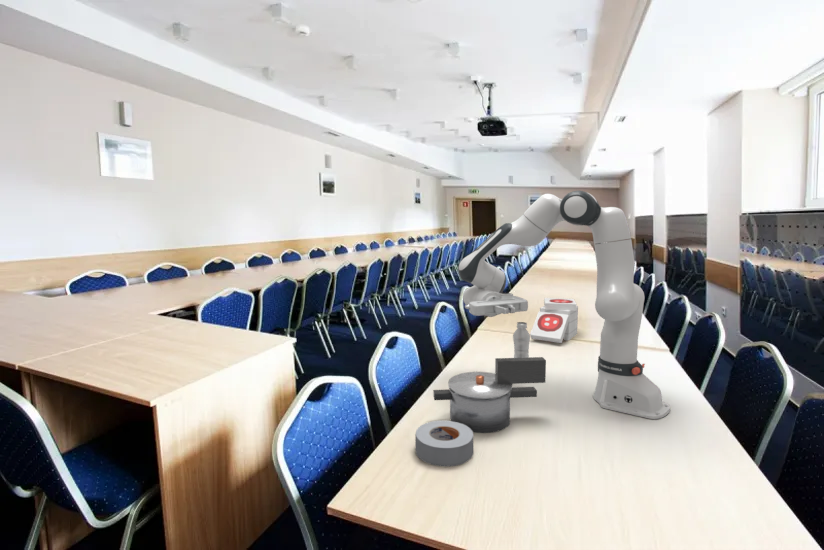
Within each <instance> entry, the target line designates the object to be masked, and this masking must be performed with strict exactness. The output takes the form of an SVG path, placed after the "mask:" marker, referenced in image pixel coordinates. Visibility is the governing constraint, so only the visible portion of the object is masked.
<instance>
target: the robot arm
mask: <svg viewBox="0 0 824 550" xmlns="http://www.w3.org/2000/svg"><path fill="white" fill-rule="evenodd" d="M563 221H565V222H567V223H569V224H571V225H573V226H580V227H582V226H586V227H589V229H590V230H591V233H592V234H591V235H592V238H593V246H594V247H593V248H594V254H595V261H596V298H595V301H594V308H595V311H596V313H597V315H598V316H599V317H600V318H602V319H603V320H604V321H603V325H602V329H601V333H600V341H599V342H600V346H599V355H598V361H597V372H598V374H597V379H596V380H597V381H596V385H595V390H594V391H593V395H592V398H593V400H595V402H597V403H598V404H599V406H600V407H601V408H603V409H604V410H605V409H606V410H611V411H615V412H618V413H624V414H628V415H631V416H632V415H633V416H636V417H641V418H646V419H649V420H657V419H661V418H664V417H665V416H667V415H668V414H669V413H670V411H671V406H670V404H669V403H668V402H665V401H663V395H662V392H661V389H660V387H659V386H658V385H657V384H655V383H654V382H653V381H652V380H651V379H650V378H649V377H647V376H646V375H645V374H644V372H643V371H644V368H645V364H646V363H641V362H639V360H638V346H639V333H640V329H641V324H642V319H643V318H642V317H643V313H644V306H645V305H644V303H645V292H644V291H643V289H642V288H641V286H640V285H638V284H636V283H634V278H635V277H634V276H635V275H634V272H635V256H634V249H633V241H632V235H631V230H630V226H629V222H628V219H627V217H626V214H625V212H624V210H623V209H621V208H620V207H615V206H608V207H607V206H606V207H602V206H600V204H599V202H598V200H597V199H596V197H595V196H594V195H593V194H591V193H589V192H587V191H585V190H572V191H570V192H569V193H567V194H566V195H564V197H562V198H560V197H558V196H556V195H555V194H553V193H552V194H551V193H544V194H542V195H540V196H539V197H538V198H537V199H536V200H535V201H534V202H533V203H532V204H530V205H529V207H528V208H527V209H526V210H525V211H524V213H523V214H522V215H521V216H519V218H517V219H516V220H514V221H513V222H510V223H509V222H507V223H506V222H505V223H504V224H502V225H500V226H499V227H497V229H496V230H495V231H493V232H492V233H491V234H490V235H489V236H488V237H487V238H486V239H484V240H483V242H481V244H479V245H478V246H477V247H476V248H475V249H474V250H472V251H471V252H470V253H468V254H467V255H466V256H464V257H463V258H462V259H461V260H460V262H459V264H458V266H457V270H458V271H457V273H458V275H459V277H460V279H461V280H463V281H465V282H467V283H469V284H471V285H473V286H470V287H468V288H466V289H465V290H464V291H463V294H462V301H463V303H464V304H465V305H464V308H465V309H466V310H468V311H469V313H470V314H471V315H473V316H474V317H475V316H476V317H479V316H486V317H489V318H492V317H493V318H494V317H496V316H498V315H502V314H503V315H507V314H508V315H509V314H515V313H517V312H518V313H520V312H527V311H528V310H529V301H528V300H527V299H525V298H523V297H520V296H517V295H514V294H513V293H512V292H511V293H510V292H504V290H505V288H506V285H507V277H506V273H505V272H504V271H503V270H502V269H500V268H498V267H496V266H495V265H494V264H493V265H492V264H491V263H489V262H487V261H486V259H487V258H489V256H491V255H492V254H493V253H494V252H495V251H496V250H497V249H499V248H500V247H501V246H504V245H515V246H521V247H533V246H537V245H539V244H540V243H542V241H544V239H545V238H546V237H547V236H548V235H549V234H550V233H551V231H552V230H553V229H554V228H555V227H556V225H558V224H559V223H561V222H563Z"/></svg>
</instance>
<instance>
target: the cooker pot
mask: <svg viewBox="0 0 824 550" xmlns="http://www.w3.org/2000/svg"><path fill="white" fill-rule="evenodd" d="M432 390H433V392H432V396H433V400H434V401H448V400H449V404H450V405H449V409H450V410H449V420H450V419H451V420H450V421H452V422H458V423H461V424H464V425H466V426H468V427H469V428H470V429H471V430H472V431H473V433H475V434H476V433H478V434H489V433H496V432H500V431H502V430H505V429H506V428H508V426H510V422H511V399H513V398H514V399H515V398H516V399H517V398H537V397H538V390H537V389H536V388H535V387H534V386H515V387H513V386H512V391H511V393H510V394H508V395H506V396H504V397H501V398H497V399H487V400H481V399H471V398H466V397H462V396H459V395H457V394H455V393H453V392H452V391H451V390H450V389H449V388H448V389H432Z"/></svg>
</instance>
